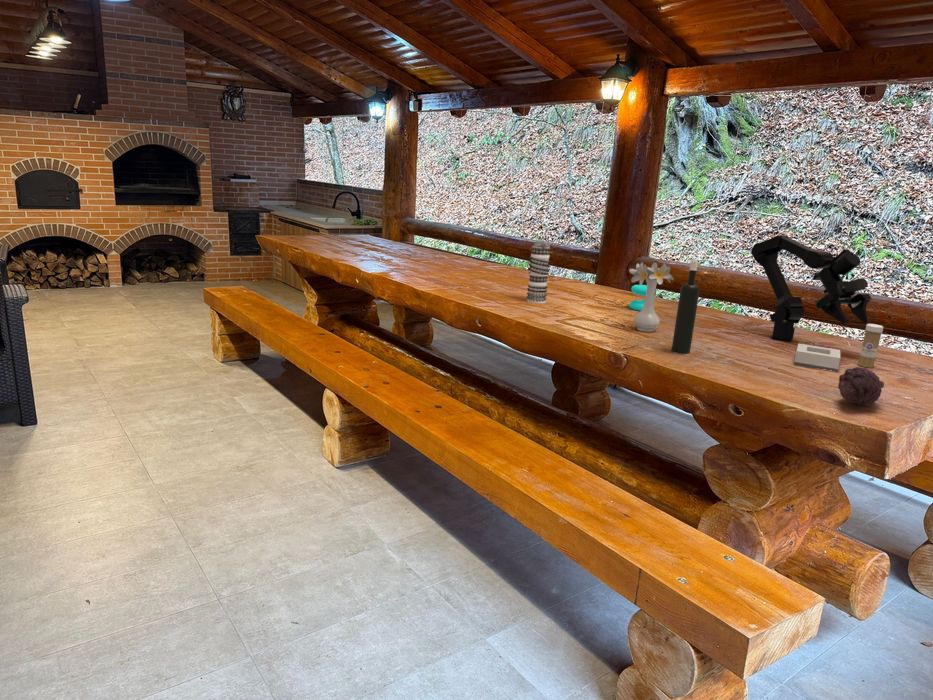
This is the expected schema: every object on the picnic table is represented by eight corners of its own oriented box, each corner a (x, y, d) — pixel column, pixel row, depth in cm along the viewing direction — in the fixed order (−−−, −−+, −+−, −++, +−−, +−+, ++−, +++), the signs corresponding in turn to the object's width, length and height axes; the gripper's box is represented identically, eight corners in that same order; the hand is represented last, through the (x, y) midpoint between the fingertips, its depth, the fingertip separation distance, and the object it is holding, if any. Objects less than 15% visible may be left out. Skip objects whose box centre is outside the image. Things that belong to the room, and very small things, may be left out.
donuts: (635, 283, 279) (658, 286, 275) (632, 305, 282) (655, 309, 277) (628, 286, 271) (652, 289, 266) (626, 309, 274) (649, 312, 269)
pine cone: (863, 418, 157) (872, 379, 154) (820, 405, 164) (828, 368, 161) (887, 404, 168) (896, 368, 165) (846, 393, 175) (854, 358, 173)
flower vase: (637, 322, 248) (646, 258, 242) (675, 334, 233) (685, 265, 227) (612, 325, 241) (620, 258, 235) (649, 337, 226) (659, 266, 220)
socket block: (793, 364, 201) (796, 351, 200) (795, 356, 211) (798, 343, 210) (837, 372, 196) (840, 358, 195) (837, 363, 206) (840, 349, 205)
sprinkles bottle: (858, 366, 204) (867, 325, 200) (856, 363, 208) (865, 322, 204) (874, 369, 202) (884, 327, 198) (872, 365, 206) (882, 324, 202)
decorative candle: (523, 299, 282) (527, 241, 276) (543, 299, 284) (548, 242, 277) (528, 303, 274) (533, 244, 267) (549, 303, 275) (555, 245, 269)
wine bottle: (691, 351, 211) (705, 259, 203) (687, 354, 206) (702, 261, 198) (673, 348, 213) (687, 257, 205) (669, 351, 209) (683, 259, 201)
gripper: (831, 269, 204) (854, 310, 197) (872, 269, 211) (897, 309, 204) (805, 289, 214) (827, 329, 207) (846, 288, 220) (868, 327, 213)
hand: (856, 323), depth 207 cm, fingers open, 9 cm apart
